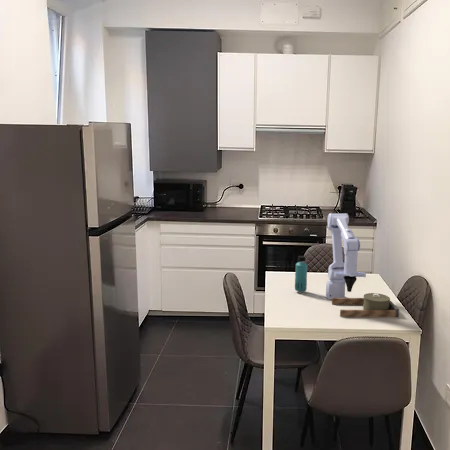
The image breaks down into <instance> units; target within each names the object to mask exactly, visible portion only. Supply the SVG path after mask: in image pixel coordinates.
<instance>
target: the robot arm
mask: <svg viewBox="0 0 450 450" xmlns="http://www.w3.org/2000/svg"><path fill="white" fill-rule="evenodd" d="M326 220H327V230H328V231H330V232H331V243H332V245H331V246H332V256H333V257H332V258H333V260H332V261H333V262H332V263H331V264H330V265H329V266H328V272H327V276H328V280H326V282H325V283H326V286H325V296H326V298H327V300H331V301H332V298H347V297H346V291H347V292H348V293H352V290H353V288H354V284H356V281H357V278H362V277H363V278H366V276H367V274H366V272H365V271H364V272H362V271H357V267H358V253H359V251H360V249H361V241H360V239H359V238H357V237H355V235H354V232H353V230H352V229H350V228H349V221H350V217H349V214H348V213H345V212H344V213H331V212H330V213H329V214H328V215H327V219H326ZM342 242H343V243H342ZM343 253H344V256H343ZM343 257H344V258H343Z"/></svg>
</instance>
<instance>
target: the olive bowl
mask: <svg viewBox="0 0 450 450" xmlns="http://www.w3.org/2000/svg"><path fill="white" fill-rule="evenodd" d="M363 298H364V305H362V306H363V308H362V310H389V301H391V298H390V296H388V295H387V294H386V295H385V294H383V293H376V292H370V293H369V292H368V293H365V294H364V295H363Z"/></svg>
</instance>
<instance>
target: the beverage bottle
mask: <svg viewBox="0 0 450 450" xmlns="http://www.w3.org/2000/svg"><path fill="white" fill-rule="evenodd" d="M306 260H307V257H306V256H304V255H298V256H297V261H298V262H296V263H295V271H294V273H295V274H294V275H295V276H294V289H295V291H297V292H306V291H307V286H308V284H307V283H308V282H307V280H308V263H306V262H305V261H306Z"/></svg>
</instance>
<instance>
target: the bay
mask: <svg viewBox="0 0 450 450" xmlns="http://www.w3.org/2000/svg"><path fill="white" fill-rule="evenodd" d="M331 304H332V305H333V306H334V305H345V306H346V305H347V306H348V305H353V306H354V305H357V306H358V305H362V306H364V297H346V298H332V300H331ZM399 316H400V308H398V306H397V305H396V304H394V303H393V302H392V300H390V301H389V310H363V309H340V310H339V317H341V318H344V317H345V318H399Z"/></svg>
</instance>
